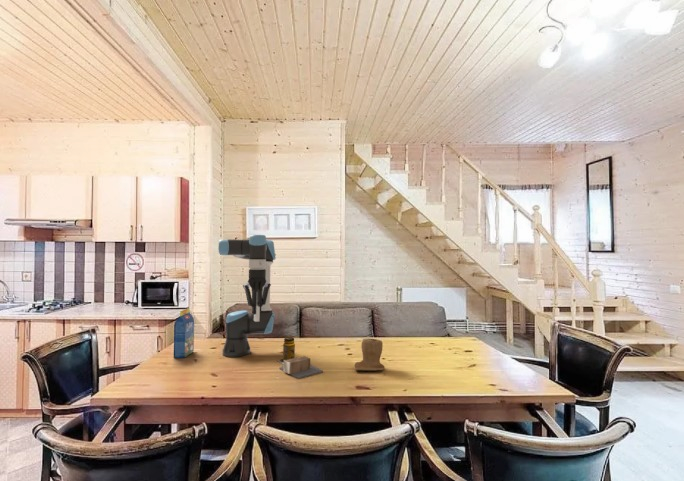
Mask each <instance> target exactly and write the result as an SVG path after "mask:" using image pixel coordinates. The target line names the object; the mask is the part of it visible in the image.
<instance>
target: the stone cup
mask: <svg viewBox="0 0 684 481" xmlns="http://www.w3.org/2000/svg"><path fill="white" fill-rule="evenodd" d="M383 348H384V347H383V341H382V340H381V339H377V338H367V337H366V338H364V337H363V339H362V341H361V352H362V360H360V361H357V362H355V363H354V367H353V368H354V370H355V371H361V372H362V371H366V372H367V371H368V372H369V371H370V372H372V371H373V372H374V371H376V372H377V371H384V370H386V369H385V365H384V364H382V363H381V362H380V361H381V356H382V353H383Z"/></svg>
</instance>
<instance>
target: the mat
mask: <svg viewBox="0 0 684 481" xmlns="http://www.w3.org/2000/svg"><path fill="white" fill-rule="evenodd" d="M279 370H280V371H283V366H280V367H279ZM323 372H324V370H323V369H321V368H319V367H316V366H314V365H311V364H310V369H307V370H303V371H299V372H295V373H291V374H289V375H290V376H292V377H294V378H296V379H302V378H307V377H310V376H311V377H312V376H313V375H317V374H321V373H323Z"/></svg>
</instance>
